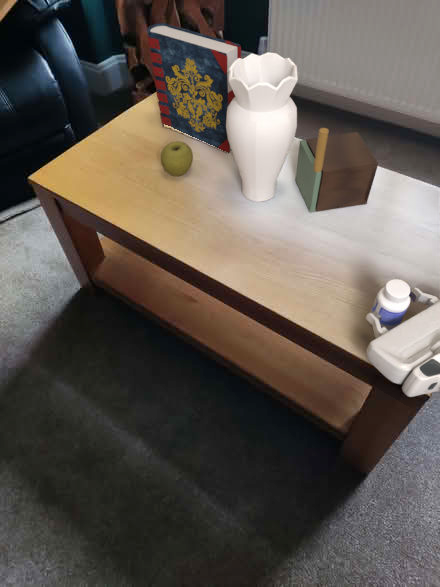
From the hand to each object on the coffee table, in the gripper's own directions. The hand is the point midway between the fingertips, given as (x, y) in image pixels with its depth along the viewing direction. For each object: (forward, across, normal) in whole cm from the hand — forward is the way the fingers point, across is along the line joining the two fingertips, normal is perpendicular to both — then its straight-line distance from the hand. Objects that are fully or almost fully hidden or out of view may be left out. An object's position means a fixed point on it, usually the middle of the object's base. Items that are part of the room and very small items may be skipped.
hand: (390, 302), depth 75 cm
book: (+73, 0, +6) cm, 73 cm away
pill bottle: (0, 0, +6) cm, 6 cm away
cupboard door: (+36, -9, +5) cm, 37 cm away
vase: (+43, -1, +6) cm, 43 cm away
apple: (+60, +12, +6) cm, 62 cm away
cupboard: (+34, -15, +5) cm, 37 cm away
